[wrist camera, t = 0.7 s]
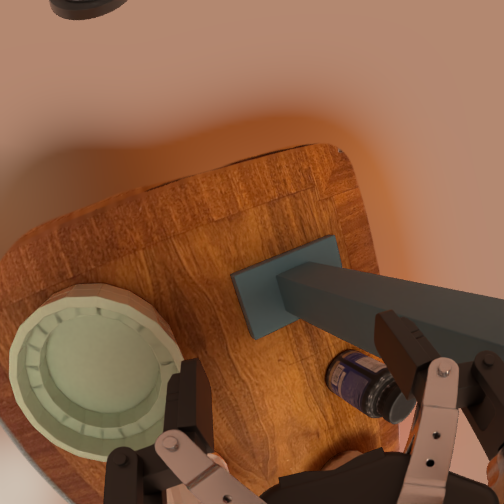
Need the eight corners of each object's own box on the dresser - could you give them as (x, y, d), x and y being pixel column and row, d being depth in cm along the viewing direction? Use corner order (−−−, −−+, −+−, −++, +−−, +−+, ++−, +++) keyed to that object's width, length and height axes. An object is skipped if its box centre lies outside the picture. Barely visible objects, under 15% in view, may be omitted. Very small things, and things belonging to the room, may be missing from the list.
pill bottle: (336, 399, 37) (392, 438, 26) (316, 374, 35) (376, 416, 25) (367, 366, 38) (427, 396, 28) (350, 339, 36) (415, 368, 26)
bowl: (3, 313, 22) (-22, 332, 16) (143, 257, 27) (146, 266, 21) (76, 440, 25) (72, 475, 19) (202, 396, 30) (218, 428, 24)
